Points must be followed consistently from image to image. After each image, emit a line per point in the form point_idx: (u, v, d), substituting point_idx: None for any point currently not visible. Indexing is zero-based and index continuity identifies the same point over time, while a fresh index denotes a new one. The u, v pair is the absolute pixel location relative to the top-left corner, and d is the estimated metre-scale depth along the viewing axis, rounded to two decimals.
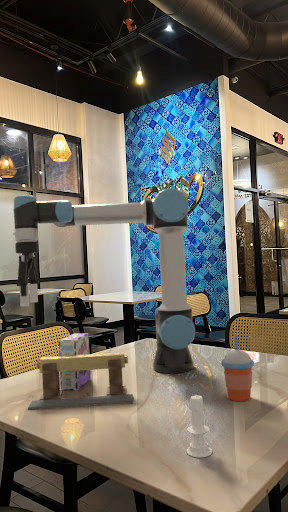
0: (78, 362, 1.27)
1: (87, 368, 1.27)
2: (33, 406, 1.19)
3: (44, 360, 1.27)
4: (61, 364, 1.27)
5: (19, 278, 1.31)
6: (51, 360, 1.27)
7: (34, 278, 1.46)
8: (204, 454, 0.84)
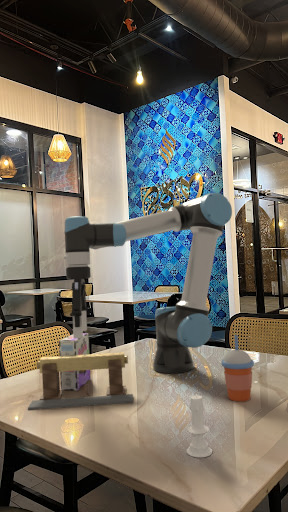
0: (78, 362, 1.27)
1: (87, 368, 1.27)
2: (33, 406, 1.19)
3: (44, 360, 1.27)
4: (61, 364, 1.27)
5: (73, 308, 1.20)
6: (51, 360, 1.27)
7: (83, 305, 1.35)
8: (204, 454, 0.84)
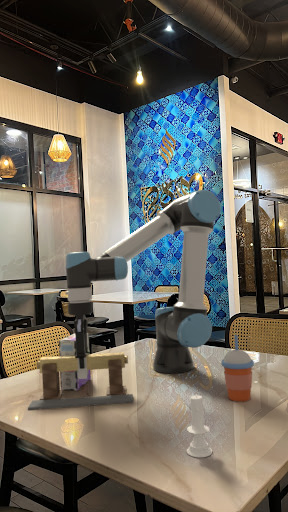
0: None
1: (87, 368, 1.27)
2: (33, 406, 1.19)
3: (44, 360, 1.27)
4: (61, 364, 1.27)
5: (78, 352, 1.24)
6: (51, 360, 1.27)
7: (85, 345, 1.31)
8: (204, 454, 0.84)
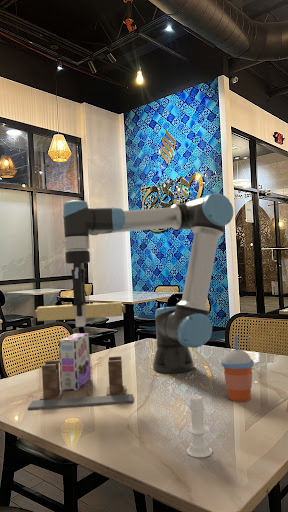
0: None
1: None
2: (33, 406, 1.19)
3: (42, 308, 1.27)
4: (58, 313, 1.27)
5: (75, 298, 1.24)
6: (48, 308, 1.27)
7: (82, 295, 1.32)
8: (204, 454, 0.84)
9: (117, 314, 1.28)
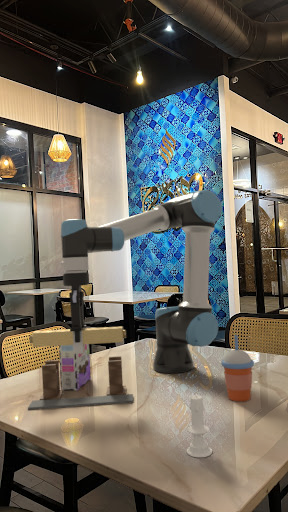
0: None
1: (83, 342, 1.20)
2: (33, 406, 1.19)
3: (37, 333, 1.20)
4: (55, 338, 1.20)
5: (73, 324, 1.16)
6: (45, 333, 1.20)
7: (81, 319, 1.24)
8: (204, 454, 0.84)
9: (117, 340, 1.21)
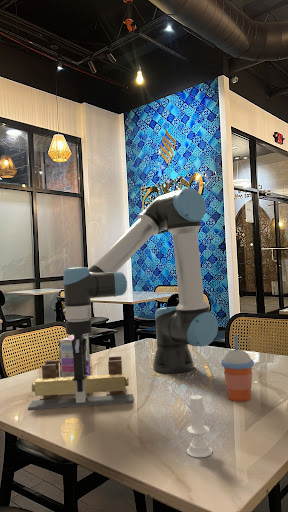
0: None
1: (85, 391, 1.20)
2: (33, 406, 1.19)
3: (40, 382, 1.19)
4: (57, 387, 1.19)
5: (76, 374, 1.16)
6: (47, 382, 1.19)
7: (83, 366, 1.24)
8: (204, 454, 0.84)
9: (120, 388, 1.20)
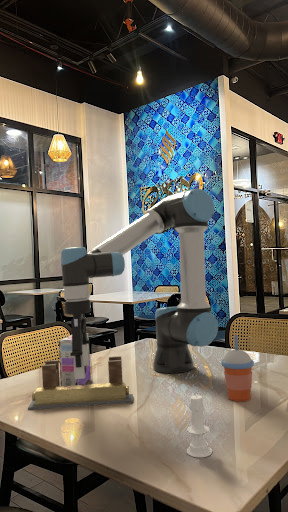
0: (76, 394, 1.20)
1: (86, 400, 1.20)
2: (33, 406, 1.19)
3: (40, 392, 1.19)
4: (57, 396, 1.20)
5: (74, 348, 1.12)
6: (47, 392, 1.19)
7: (84, 338, 1.28)
8: (204, 454, 0.84)
9: (120, 397, 1.21)
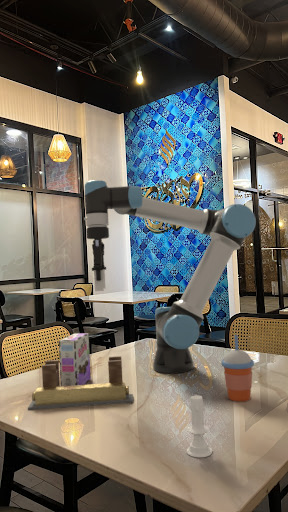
0: (76, 394, 1.20)
1: (86, 400, 1.20)
2: (33, 406, 1.19)
3: (40, 392, 1.19)
4: (57, 396, 1.20)
5: (95, 262, 1.30)
6: (47, 392, 1.19)
7: (102, 264, 1.46)
8: (204, 454, 0.84)
9: (120, 397, 1.21)
